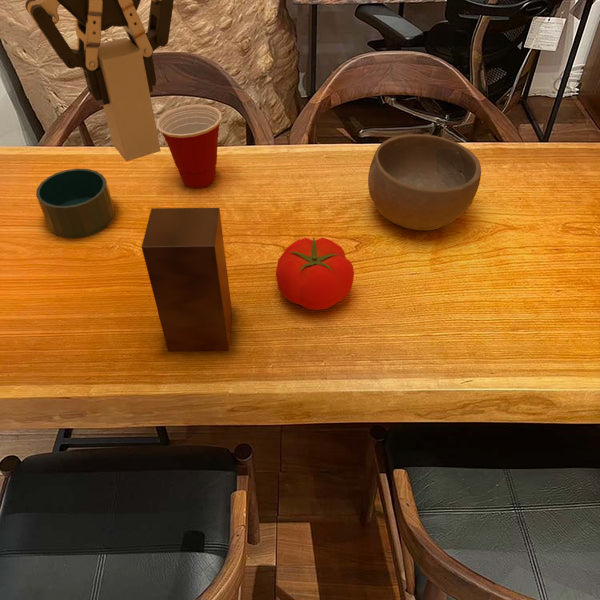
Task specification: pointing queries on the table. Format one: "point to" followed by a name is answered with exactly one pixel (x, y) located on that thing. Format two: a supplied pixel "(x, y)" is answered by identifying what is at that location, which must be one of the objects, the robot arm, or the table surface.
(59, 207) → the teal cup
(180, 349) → the pedestal
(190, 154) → the plastic cup
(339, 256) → the tomato
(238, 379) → the table surface
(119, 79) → the block
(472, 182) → the bowl
